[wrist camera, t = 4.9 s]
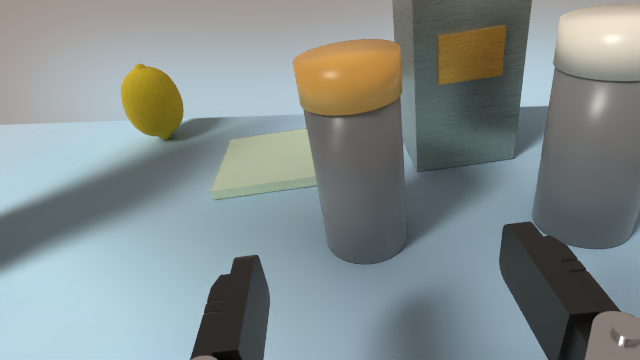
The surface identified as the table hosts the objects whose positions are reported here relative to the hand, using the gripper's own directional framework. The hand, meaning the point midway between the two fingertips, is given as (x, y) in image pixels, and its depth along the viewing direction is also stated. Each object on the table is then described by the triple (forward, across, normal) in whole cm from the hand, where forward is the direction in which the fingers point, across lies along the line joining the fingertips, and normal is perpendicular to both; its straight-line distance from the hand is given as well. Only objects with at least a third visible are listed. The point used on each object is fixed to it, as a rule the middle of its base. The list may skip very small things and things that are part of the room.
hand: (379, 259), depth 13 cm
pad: (+20, +6, +6) cm, 22 cm away
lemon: (+29, +19, +7) cm, 35 cm away
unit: (+19, -8, +6) cm, 22 cm away
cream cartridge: (+8, -12, +6) cm, 16 cm away
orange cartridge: (+9, 0, +6) cm, 11 cm away
